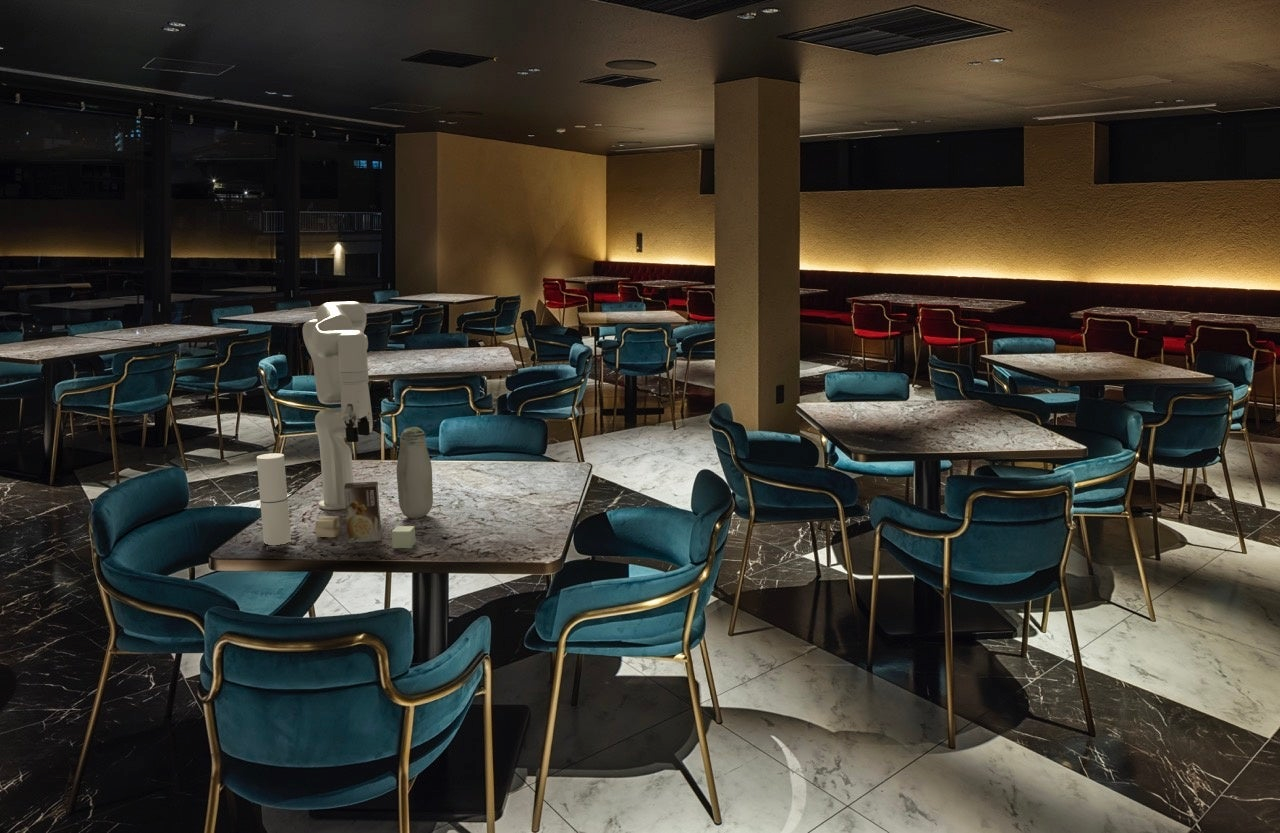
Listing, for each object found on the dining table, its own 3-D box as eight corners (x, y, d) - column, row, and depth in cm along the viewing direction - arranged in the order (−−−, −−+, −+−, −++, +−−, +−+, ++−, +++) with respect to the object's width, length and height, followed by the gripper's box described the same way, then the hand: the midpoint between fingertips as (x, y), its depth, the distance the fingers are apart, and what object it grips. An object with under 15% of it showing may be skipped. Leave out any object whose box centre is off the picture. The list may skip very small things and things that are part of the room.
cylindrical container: (267, 548, 260) (260, 460, 255) (260, 541, 265) (253, 455, 261) (294, 543, 264) (287, 456, 260) (286, 537, 270) (279, 452, 265)
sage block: (397, 543, 263) (396, 526, 262) (415, 543, 263) (414, 526, 262) (392, 548, 258) (391, 531, 257) (410, 548, 258) (409, 531, 257)
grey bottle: (425, 522, 282) (420, 431, 277) (394, 521, 284) (388, 430, 279) (439, 513, 292) (434, 425, 287) (408, 512, 294) (403, 424, 289)
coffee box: (382, 534, 271) (379, 480, 268) (380, 541, 265) (377, 486, 262) (349, 537, 269) (345, 482, 266) (347, 543, 263) (343, 488, 260)
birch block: (323, 532, 274) (321, 516, 273) (340, 532, 274) (338, 516, 273) (316, 538, 269) (315, 521, 268) (333, 537, 269) (332, 521, 268)
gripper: (351, 373, 267) (355, 432, 270) (329, 381, 250) (334, 444, 253) (377, 373, 267) (381, 432, 270) (357, 381, 250) (361, 444, 253)
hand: (358, 438), depth 262 cm, fingers open, 9 cm apart
